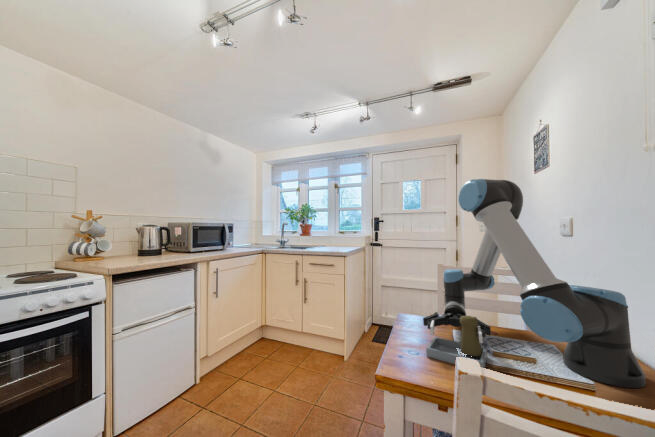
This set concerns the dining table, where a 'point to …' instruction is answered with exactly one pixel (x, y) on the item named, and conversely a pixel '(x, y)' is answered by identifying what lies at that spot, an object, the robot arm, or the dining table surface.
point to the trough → (451, 351)
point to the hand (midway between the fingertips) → (455, 334)
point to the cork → (470, 336)
